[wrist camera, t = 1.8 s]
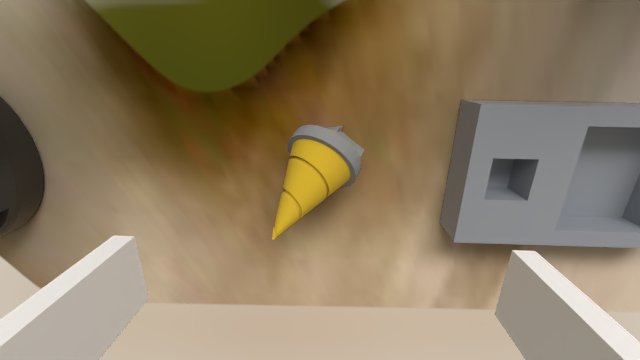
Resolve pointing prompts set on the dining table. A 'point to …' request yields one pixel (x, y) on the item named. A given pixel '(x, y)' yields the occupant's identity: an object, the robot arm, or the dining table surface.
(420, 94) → the dining table surface
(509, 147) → the bit holder block
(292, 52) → the dining table surface
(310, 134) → the yellow grooved cone
